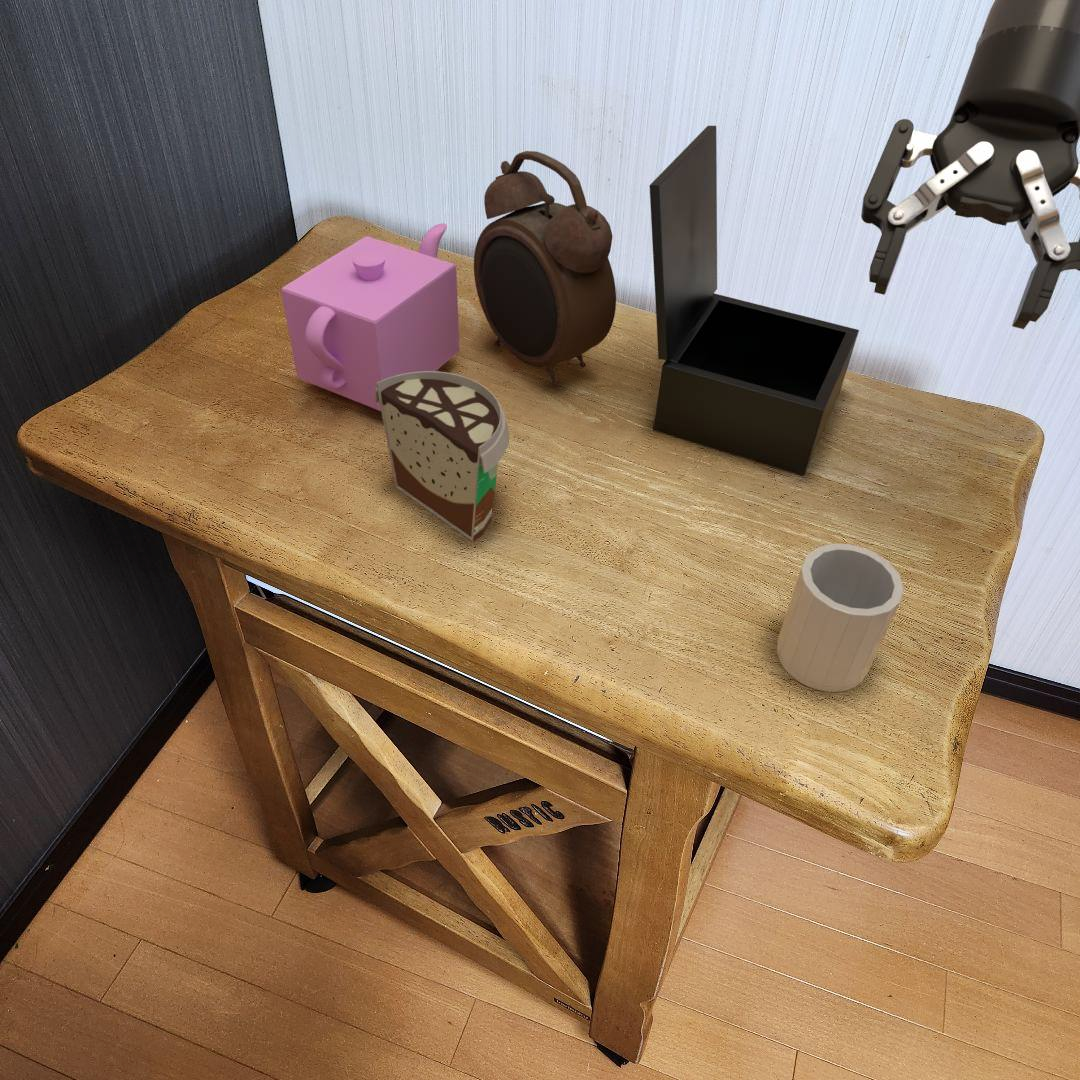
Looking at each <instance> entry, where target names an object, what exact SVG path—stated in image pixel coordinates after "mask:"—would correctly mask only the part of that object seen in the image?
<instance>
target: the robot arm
mask: <svg viewBox="0 0 1080 1080" xmlns="http://www.w3.org/2000/svg"><path fill="white" fill-rule="evenodd" d="M1079 140H1080V0H994V2H992V5H991V7H990V10H989V12H988V14H987V17H986V20H985V22H984V25H983V27H982V30H981V34H980V36H979V37H978V40H977V42H976V45H975V50H974V53H973V55H972V58H971V61H970V64H969V67H968V70H967V72H966V75H965V78H964V81H963V84H962V86H961V89H960V92H959V95H958V97H957V100H956V103H955V106H954V109H953V112H952V114H951V117H950V120H949V122H948V124H947V125H946V127H945V128H944V129H943V130H942V131H941V132H939V134H938V135H937V134H933V133H930V132H929V133H928V132H925V131H921V130H917V129H914V123H913V121H912V120H910V119H908V118H902V119H899V120H898V121H896V122H895V124H894V125H893V128H892V130H891V131H890V135H889V137H888V139H887V141H886V144H885V146H884V149H883V151H882V153H881V156H880V158H879V159H878V163H877V164H876V167H875V170H874V172H873V175H872V177H871V179H870V182H869V184H868V186H867V189H866V191H865V193H864V196H863V198H862V206H861V213H860V218H861V220H862V221H863V222H864V224H869V225H870V224H872V225H873V226H875V227H876V228H878V229H879V231H880V232H881V235H880V238H879V241H878V243H877V247H876V249H875V252H874V255H873V257H872V261H871V263H870V266H869V271H868V278H869V279H868V280H869V283H873V284H875V286H874V291H873V293H875V294H879V295H883V296H885V295H886V293H887V290H888V288H889V284H890V282H891V280H892V276H893V274H894V271H895V268H896V265H897V263H898V260H899V257H900V255H901V252H902V249H903V245H904V243H905V239H906V237H907V236H906V235H907V234H908V233H909V232H910V231H912V230H913V229H915V228H916V227H917V226H919V225H920V224H922V223H923V222H927V221H929V220H931V219H932V218H934V217H935V216H937V215H938V214H940V213H941V212H942V211H944V210H945V209H946V208H949V209H950V210H952V211H953V212H955V213H954V216H958V217H962V218H982V219H984V220H986V221H988V222H990V223H992V224H995V225H1001V226H1007V224H1008V223H1010V224H1011V223H1015V222H1017V225H1018V228H1019V230H1020V233H1021V235H1022V237H1023V240H1024V242H1025V243H1026V244H1027V245H1029V248H1030V250H1031V252H1032V255H1033V258H1034V259H1035V263H1036V264H1035V265H1034V267H1033V268H1032V270H1031V272H1030V274H1029V277H1028V280H1027V282H1026V286H1025V288H1024V290H1023V294H1022V297H1021V299H1020V301H1019V304H1018V307H1017V310H1016V313H1015V316H1014V318H1013V321H1012V323H1011V327H1013V328H1016V329H1020V330H1025V328H1026V327H1027V326H1028V324H1029V323H1030V322H1033V323H1036V322H1037V321H1038V320H1039V319H1040V318H1041V317H1042V316H1043V314H1044V313H1045V312H1046V311H1047V310H1048V308H1049V305H1050V302H1051V299H1052V296H1053V294H1054V291H1055V288H1056V286H1057V283H1058V280H1059V279H1060V275H1061V273H1062V272H1065V271H1070V270H1077V271H1079V272H1080V236H1078V241H1071V242H1069V241H1068V238H1067V236H1066V234H1065V232H1064V231H1065V230H1064V229H1063V227H1062V224H1061V221H1060V220H1061V218H1060V217H1061V215H1060V211H1059V208H1058V206H1057V203H1056V201H1055V199H1054V197H1055V196H1056V195H1058V194H1059V193H1060V192H1062V191H1064V190H1065V189H1067V187H1068V186H1069V185H1070V184H1072V185H1074V186H1076V187H1077V188H1078V189H1077V190H1078V192H1079V193H1078V198H1079V200H1080V161H1079V158H1078V153H1077V149H1078V143H1079ZM924 156H925V157H926V156H929V160H930V163H931V167H932V169H933V171H934V174H935V175H933V176H932V177H930V178H929V179H927V180H926V181H925V182H923V183H922V184H921V185H920V186H919V187H918V188H917V190H915V191H914V192H913V193H912V194H911V195H909V196H908V197H906V198H905V199H903V200H902V201H901V202H899V203H898V204H895V203H893V202H891V201H889V198H890V194H891V192H892V190H893V187H894V185H895V183H896V180H897V178H898V176H899V174H900V172H901V169H902V168H904V169H908V168H911V167H913V166H914V165H915V164H916V163H917V161H918V160H919V159H920V158H922V157H924Z"/></svg>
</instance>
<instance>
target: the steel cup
mask: <svg viewBox="0 0 1080 1080" xmlns="http://www.w3.org/2000/svg"><path fill="white" fill-rule="evenodd" d="M904 590H905V587H904V584H903V580H902V578H901V575H900V573H899V571H898V570H897V569H896V568H895V567H894V565H892V564H891V563H890V561H888V560H887V559H886V558H885V557H882V556H881V555H880V554H878V553H876V552H875V551H873V550H871V549H869V548H865V547H862V546H859V545H856V544H852V543H851V544H850V543H838V542H837V543H835V542H832V543H829V544H825V545H820V546H817V547H816V548H814V549H813V550H812V551H810V552H809V553H807V554H806V556H805V557H804V560H803V562H802V564H801V567H800V570H799V573H798V577H797V579H796V582H795V586H794V589H793V591H792V595H791V598H790V601H789V604H788V607H787V610H786V613H785V616H784V620H783V622H782V625H781V628H780V631H779V634H778V636H777V637H778V638H777V641H776V653H777V658H778V660H779V662H780V664H781V666H782V667H783V669H784V670H785V671H786V672H787V673H788V675H789V676H791V677H792V678H793V679H794V680H796V681H797V682H798V683H801V684H802V685H804V686H806V687H808V688H811V689H814V690H817V691H821V692H827V693H838V692H839V693H840V692H845V691H848V690H852V689H853V688H855V687H857V686H859V685H860V684H861V683H862V682H863V681H864V680H865V678H866V677H867V675H868V674H869V672H870V670H871V668H872V665H873V663H874V661H875V659H876V657H877V654H878V652H879V650H880V648H881V646H882V643H883V642H884V639H885V637H886V635H887V632H888V630H889V628H890V626H891V623H892V621H893V619H894V617H895V615H896V612H897V611H898V608H899V606H900V604H901V602H902V597H903V593H904Z"/></svg>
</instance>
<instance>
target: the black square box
mask: <svg viewBox="0 0 1080 1080" xmlns="http://www.w3.org/2000/svg"><path fill="white" fill-rule="evenodd" d="M859 332H860V330H859V329H857V328H853V327H851V326H850V327H849V326H846V325H841V324H837V323H833V322H830V321H826V320H821V319H817V318H813V317H810V316H807V315H802V314H798V313H794V312H789V311H785V310H782V309H777V308H773V307H771V306H767V305H762V304H758V303H754V302H750V301H745V300H742V299H738V298H734V297H730V296H728V295H727V296H726V295H724V294H722V295H721V294H719V293H714V294H713V295H712V297H711V298H710V300H709V301H708V303H707V304H706V305H705V307H704V308H703V310H702V311H701V313H700V314H699V315H698V317H697V318H696V320H695V321H694V323H693V324H692V325H691V327H690V328H689V330H688V331H687V332H686V334H685V335H684V337H683V338H682V340H681V341H680V342H679V344H678V345H677V347H676V348H675V350H674V351H673V352H672V354H671V355H670V357H669V358H668V360H664V362H663V363H662V365H661V371H660V376H659V377H660V379H659V385H658V392H657V399H656V407H655V413H654V420H653V427H652V430H653V431H655V432H657V433H662V434H665V435H668V436H671V437H673V438H674V437H675V438H677V439H682V440H684V441H688V442H691V443H695V444H698V445H700V446H704V447H708V448H711V449H714V450H716V451H717V450H718V451H720V452H724V453H727V454H730V455H733V456H734V455H735V456H737V457H740V458H744V459H747V460H750V461H754V462H757V463H760V464H763V465H766V466H770V467H773V468H777V469H780V470H783V471H787V472H790V473H792V474H796V475H799V476H802V477H805V475H806V473H807V471H808V469H809V466H810V464H811V461H812V459H813V456H814V454H815V452H816V450H817V447H818V445H819V443H820V441H821V438H822V436H823V433H824V431H825V428H826V426H827V424H828V422H829V419H830V417H831V415H832V412H833V410H834V408H835V405H836V403H837V401H838V399H839V395H840V393H841V390H842V387H843V384H844V380H845V377H846V374H847V371H848V368H849V364H850V361H851V358H852V355H853V352H854V348H855V345H856V343H857V340H858V339H857V338H858V335H859V334H860V333H859Z"/></svg>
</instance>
